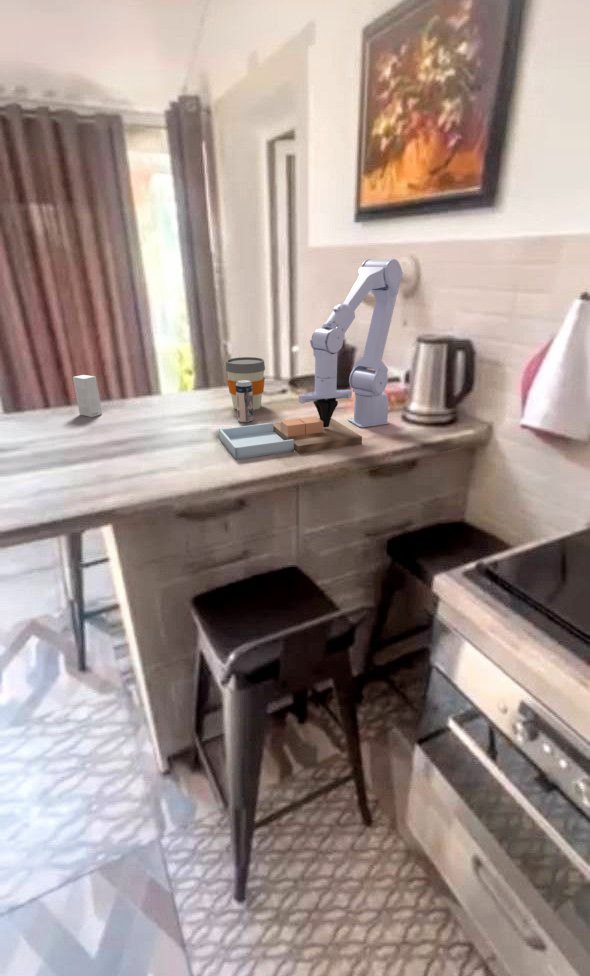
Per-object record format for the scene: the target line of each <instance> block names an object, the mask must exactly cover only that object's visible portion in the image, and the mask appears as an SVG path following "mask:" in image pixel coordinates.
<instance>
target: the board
mask: <svg viewBox="0 0 590 976" xmlns="http://www.w3.org/2000/svg"><path fill="white" fill-rule="evenodd" d="M318 418H319V419H320V417H318ZM273 429H274V432H275V433H276V434H277V435H278V436H279V437H281V438H282V439H283V440H291V439H293V440H294V450H295V451H294V452H295V453H297V454H298V453H299V454H304V453H310V452H311V453H312V452H318V451H323V450H324V451H325V450H331V449H338V448H343V447H345V448H346V447H350V446H352V447H353V446H358V445H362V444H363V436H361V435H360V434H359V433H357V432H355V431H353V429H350V428H348V427H347V426H346V425H343V424H342V423H340V422H339V421H337V420H336V419H334V418H333V417H331V420H330V424H329V427H323V432H321V433H314V434H305V435H299V436H291V437H287V436H286V435H285V434H283V433H282V432H281V422H276V423H273Z"/></svg>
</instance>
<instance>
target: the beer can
mask: <svg viewBox="0 0 590 976" xmlns="http://www.w3.org/2000/svg"><path fill="white" fill-rule="evenodd" d="M236 399H237V410H236V412H237V413H236V414H237V421H238V422H240V423H243V422H248V423H251V422H252V421H253V420H254V417H255V415H254V410H253V391H252V383H251V381H250V380H238V381H237V383H236ZM250 421H251V422H250Z"/></svg>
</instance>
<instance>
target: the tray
mask: <svg viewBox="0 0 590 976" xmlns="http://www.w3.org/2000/svg"><path fill="white" fill-rule="evenodd" d="M273 424H274V422H266V423H258V424H250V425H249V424H248V425H242V426H234V427H227V428H219V429H218V435H219V440H220V442H221V444H223V446H224V447H225V448H226V450H227V451H228V452H229V454H230V455H232V457H233V458H234V459H235V460H243V458H244V459H249V458H250V457H251V458H256V457H257V456H258V457H262V456H270V455H278V454H283V453H284V452H285V453H289V452H290V453H291V451H292V452H295V451H294V440H293V439H291V440H283V439H282V438H281V437H279V436H278V435H277V434H276V433H275V432H274V429H273ZM277 453H278V454H277ZM285 453H284V454H285Z"/></svg>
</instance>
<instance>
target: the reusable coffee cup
mask: <svg viewBox="0 0 590 976" xmlns="http://www.w3.org/2000/svg"><path fill="white" fill-rule="evenodd" d="M265 370H266V365H265V360H264V358H261V357H254V356H253V357H252V356H251V357H250V356H245V357H244V356H243V357H241V356H240V357H232V358H229V359H226V360H225V371H226V373H227V379H226V380H227V381H226V382H227V386H228V392H229V394H231V395H230V396H231V401H232V406H233V409H234V410H236V409H237V399H236V383H237V381H238V380H250V381H251V383H252V391H253V411H256V410H259V409H260V408H261V407H262V400H263V399H262V398H263V393H264V389H265V388H264V387H265ZM255 409H256V410H255Z"/></svg>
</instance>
